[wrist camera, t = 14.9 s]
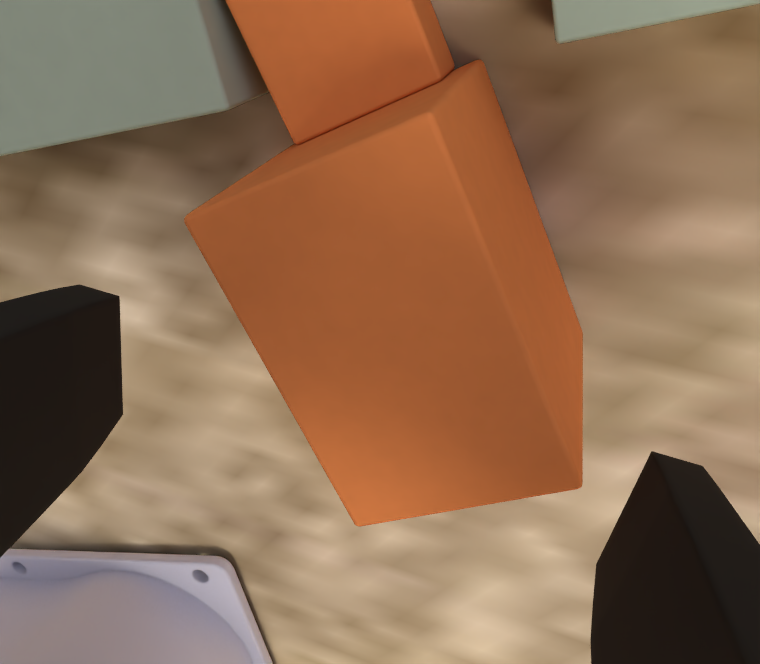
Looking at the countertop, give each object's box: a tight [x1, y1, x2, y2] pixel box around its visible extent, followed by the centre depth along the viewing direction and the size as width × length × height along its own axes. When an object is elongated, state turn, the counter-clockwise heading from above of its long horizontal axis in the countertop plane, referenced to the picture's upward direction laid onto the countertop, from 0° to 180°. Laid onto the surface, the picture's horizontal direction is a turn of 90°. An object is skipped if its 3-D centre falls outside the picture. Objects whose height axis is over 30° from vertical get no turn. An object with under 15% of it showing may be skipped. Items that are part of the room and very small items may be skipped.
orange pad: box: [184, 0, 583, 526], centre depth 12 cm, size 4×10×5 cm, turn 25°
